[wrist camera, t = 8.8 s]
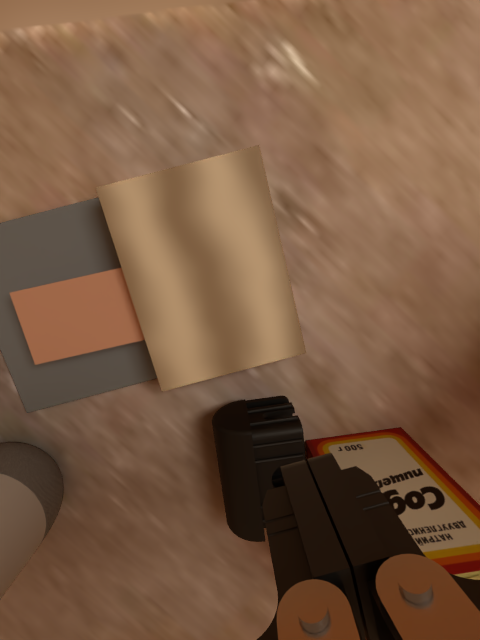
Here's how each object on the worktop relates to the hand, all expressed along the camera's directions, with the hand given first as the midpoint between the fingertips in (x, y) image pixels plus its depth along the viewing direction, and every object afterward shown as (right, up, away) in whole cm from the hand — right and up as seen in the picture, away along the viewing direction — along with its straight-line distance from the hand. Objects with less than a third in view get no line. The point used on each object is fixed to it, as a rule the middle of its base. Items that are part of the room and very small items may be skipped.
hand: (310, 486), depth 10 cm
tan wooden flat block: (-5, +9, +21) cm, 24 cm away
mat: (-17, +6, +21) cm, 28 cm away
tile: (-15, +5, +21) cm, 26 cm away
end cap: (-1, -7, +25) cm, 26 cm away
